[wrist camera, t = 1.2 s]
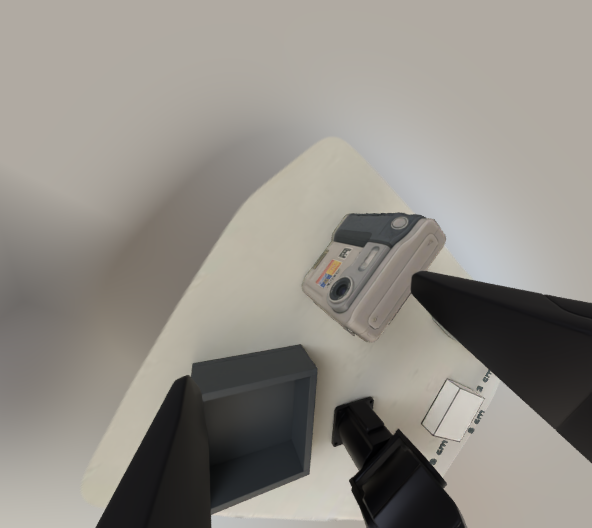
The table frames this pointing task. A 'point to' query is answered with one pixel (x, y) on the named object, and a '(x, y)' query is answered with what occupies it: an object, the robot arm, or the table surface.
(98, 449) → the table surface
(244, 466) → the bin
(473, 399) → the container
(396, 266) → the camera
